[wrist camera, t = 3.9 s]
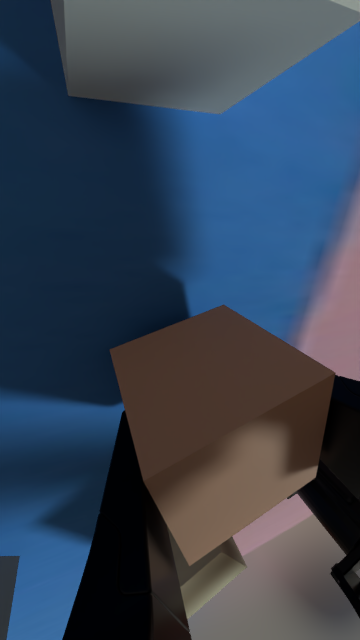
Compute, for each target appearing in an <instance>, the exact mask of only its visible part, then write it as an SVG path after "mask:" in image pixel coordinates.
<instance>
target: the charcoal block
mask: <svg viewBox="0 0 360 640" xmlns="http://www.w3.org/2000/svg"><path fill="white" fill-rule="evenodd" d="M19 557H20V556H0V640H6V639H7V632H8V626H9V620H10V613H11V607H12V601H13V595H14V588H15V582H16V576H17V569H18V563H19Z"/></svg>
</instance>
